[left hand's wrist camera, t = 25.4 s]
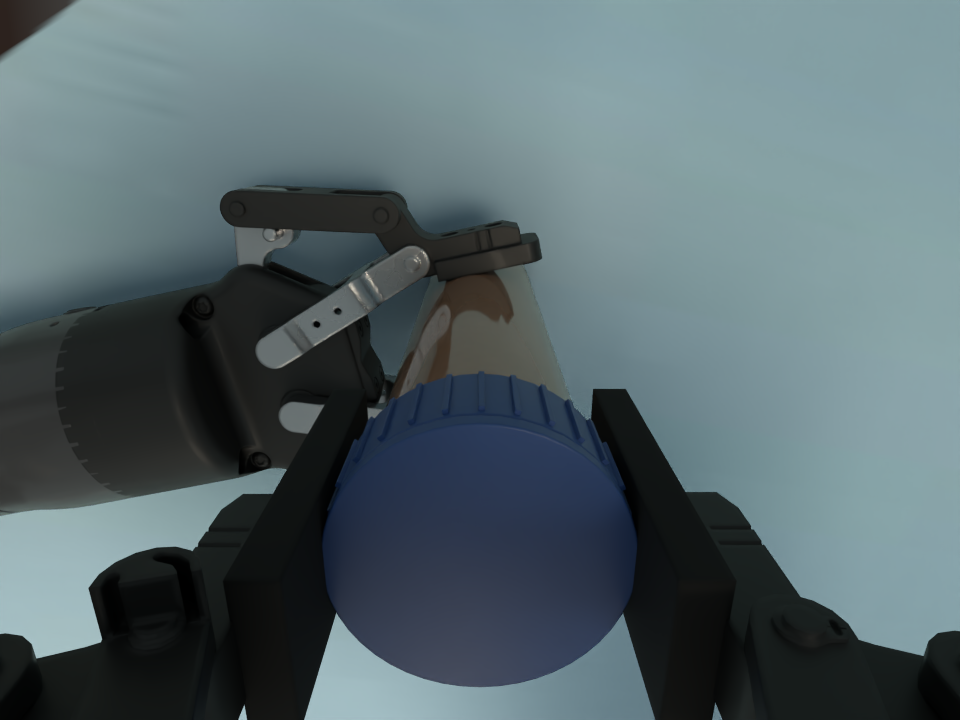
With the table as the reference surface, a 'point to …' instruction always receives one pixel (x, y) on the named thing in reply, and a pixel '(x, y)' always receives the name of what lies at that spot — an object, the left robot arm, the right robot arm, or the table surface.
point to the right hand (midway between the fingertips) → (548, 316)
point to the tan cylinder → (480, 333)
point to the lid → (479, 533)
